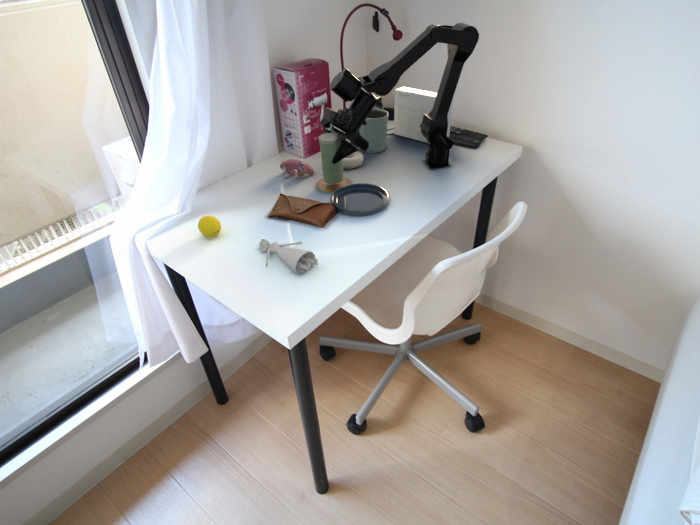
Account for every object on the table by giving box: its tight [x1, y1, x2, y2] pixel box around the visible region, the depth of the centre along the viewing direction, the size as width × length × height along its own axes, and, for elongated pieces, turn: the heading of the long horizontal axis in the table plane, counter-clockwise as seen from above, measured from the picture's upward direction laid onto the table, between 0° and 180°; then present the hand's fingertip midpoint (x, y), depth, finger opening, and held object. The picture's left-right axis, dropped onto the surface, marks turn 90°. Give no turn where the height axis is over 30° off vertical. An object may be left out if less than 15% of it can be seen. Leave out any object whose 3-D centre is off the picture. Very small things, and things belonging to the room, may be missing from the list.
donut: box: [342, 151, 365, 170], centre depth 140 cm, size 10×4×10 cm
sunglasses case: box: [267, 193, 339, 229], centre depth 115 cm, size 18×7×7 cm, turn 66°
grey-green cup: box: [358, 108, 389, 154], centre depth 146 cm, size 10×10×12 cm
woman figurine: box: [258, 238, 319, 275], centre depth 100 cm, size 12×4×18 cm
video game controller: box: [279, 158, 315, 177], centre depth 134 cm, size 10×5×7 cm, turn 68°
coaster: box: [316, 177, 351, 193], centre depth 129 cm, size 10×10×1 cm
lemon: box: [197, 215, 222, 238], centre depth 109 cm, size 7×5×5 cm
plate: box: [329, 182, 390, 218], centre depth 119 cm, size 16×16×2 cm
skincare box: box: [393, 86, 454, 144], centre depth 149 cm, size 21×6×16 cm, turn 46°
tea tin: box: [318, 132, 345, 184], centre depth 124 cm, size 6×6×13 cm
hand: (327, 159), depth 123 cm, fingers closed on tea tin, 6 cm apart
